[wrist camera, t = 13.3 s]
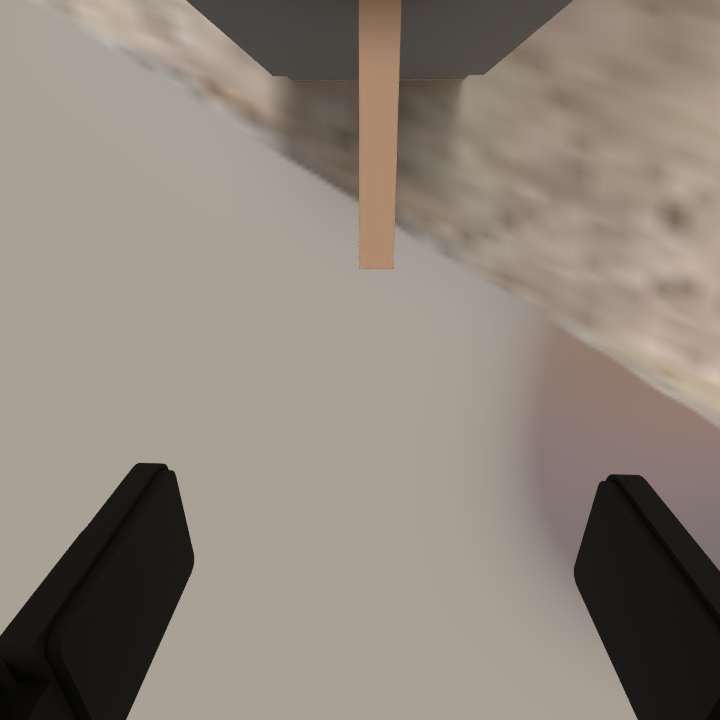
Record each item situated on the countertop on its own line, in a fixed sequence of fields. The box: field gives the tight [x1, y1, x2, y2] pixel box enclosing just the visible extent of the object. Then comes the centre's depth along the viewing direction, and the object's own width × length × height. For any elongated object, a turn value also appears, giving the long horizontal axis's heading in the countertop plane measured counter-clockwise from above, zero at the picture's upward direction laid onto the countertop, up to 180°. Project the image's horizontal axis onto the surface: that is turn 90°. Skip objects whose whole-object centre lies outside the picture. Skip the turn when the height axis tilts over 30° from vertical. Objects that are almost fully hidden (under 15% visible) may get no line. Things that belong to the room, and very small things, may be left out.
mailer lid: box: [187, 0, 572, 269], centre depth 19 cm, size 21×13×10 cm
